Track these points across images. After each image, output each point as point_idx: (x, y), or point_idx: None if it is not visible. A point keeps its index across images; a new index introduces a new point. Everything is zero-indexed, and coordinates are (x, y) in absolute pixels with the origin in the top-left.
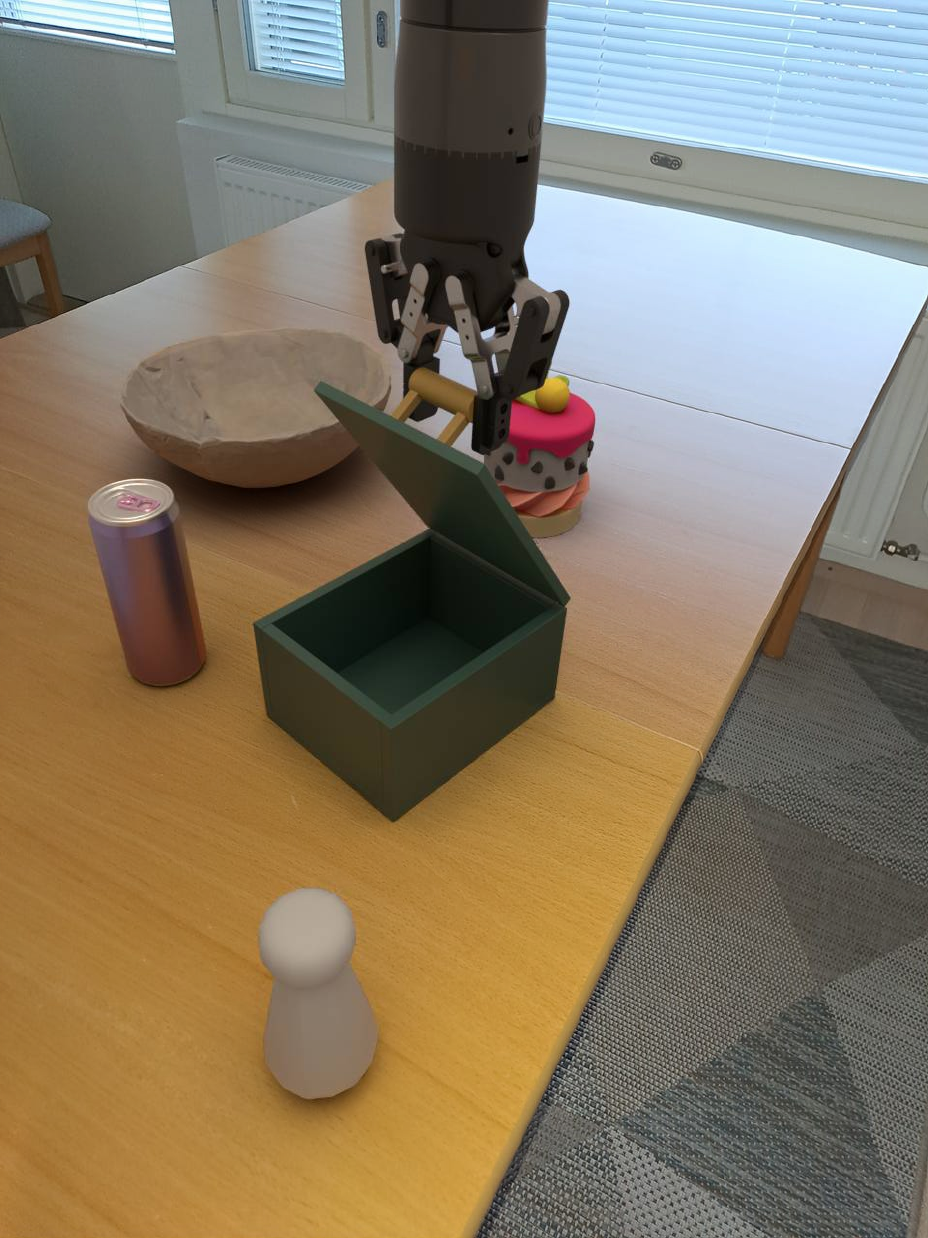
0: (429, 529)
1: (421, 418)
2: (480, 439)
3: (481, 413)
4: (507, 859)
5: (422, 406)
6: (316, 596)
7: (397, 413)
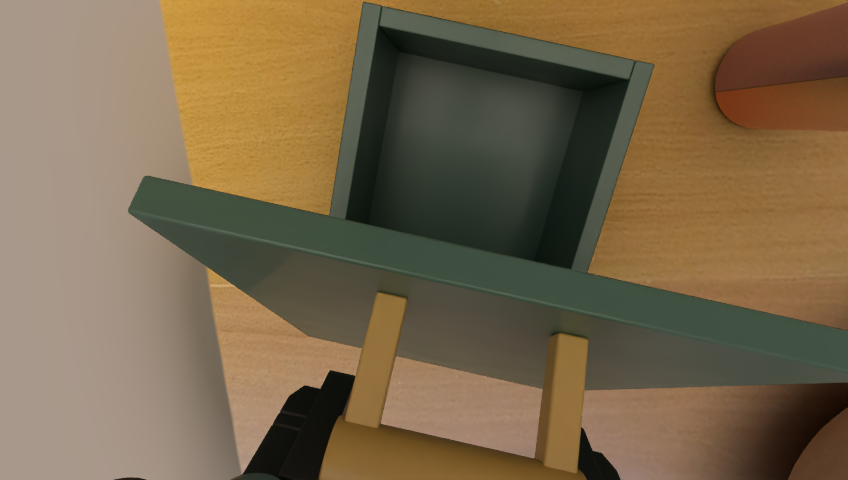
0: None
1: None
2: (319, 391)
3: (297, 441)
4: (277, 65)
5: None
6: (606, 166)
7: (567, 377)
